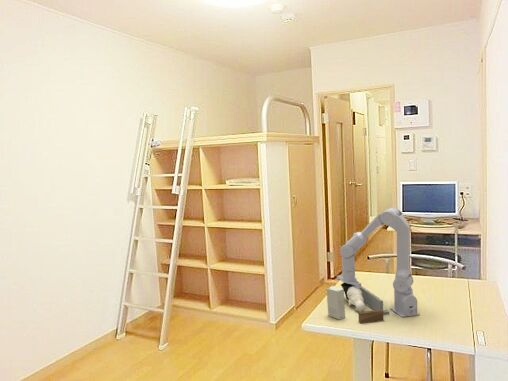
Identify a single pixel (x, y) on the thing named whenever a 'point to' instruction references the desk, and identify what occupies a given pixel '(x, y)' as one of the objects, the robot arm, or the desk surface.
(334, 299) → the skincare box
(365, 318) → the stop bar
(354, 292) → the white lumpy rounded piece
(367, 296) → the screen
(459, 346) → the desk surface
